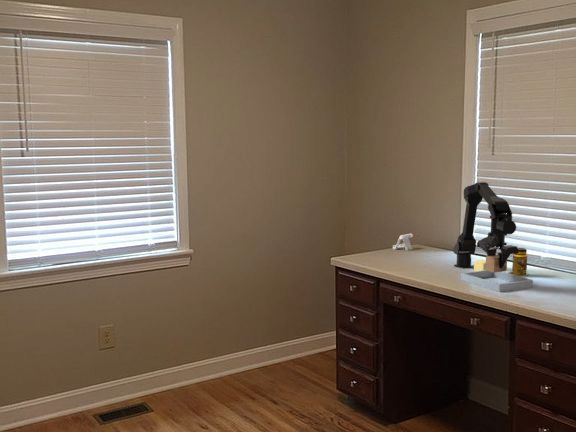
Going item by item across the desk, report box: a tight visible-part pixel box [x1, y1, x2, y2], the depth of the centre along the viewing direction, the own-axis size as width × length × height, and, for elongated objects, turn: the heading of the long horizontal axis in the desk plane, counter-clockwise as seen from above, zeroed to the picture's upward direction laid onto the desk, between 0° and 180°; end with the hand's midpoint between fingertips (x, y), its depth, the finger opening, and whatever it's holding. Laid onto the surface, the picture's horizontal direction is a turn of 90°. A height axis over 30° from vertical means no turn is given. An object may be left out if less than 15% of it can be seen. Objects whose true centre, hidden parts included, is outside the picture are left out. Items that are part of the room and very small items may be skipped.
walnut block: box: [485, 254, 508, 273], centre depth 275 cm, size 7×5×6 cm
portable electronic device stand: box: [392, 233, 414, 252], centre depth 353 cm, size 9×8×8 cm
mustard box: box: [473, 259, 486, 272], centre depth 297 cm, size 6×5×5 cm
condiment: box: [507, 247, 529, 278], centre depth 291 cm, size 7×8×12 cm
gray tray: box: [460, 270, 534, 293], centre depth 276 cm, size 23×18×3 cm
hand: (496, 266), depth 276 cm, fingers closed on walnut block, 5 cm apart
